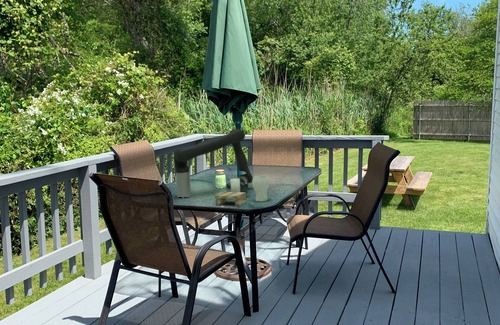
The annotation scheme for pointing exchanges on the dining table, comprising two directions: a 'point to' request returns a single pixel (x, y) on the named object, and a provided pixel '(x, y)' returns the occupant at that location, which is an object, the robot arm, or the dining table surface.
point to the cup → (261, 187)
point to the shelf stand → (231, 197)
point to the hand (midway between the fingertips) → (235, 187)
